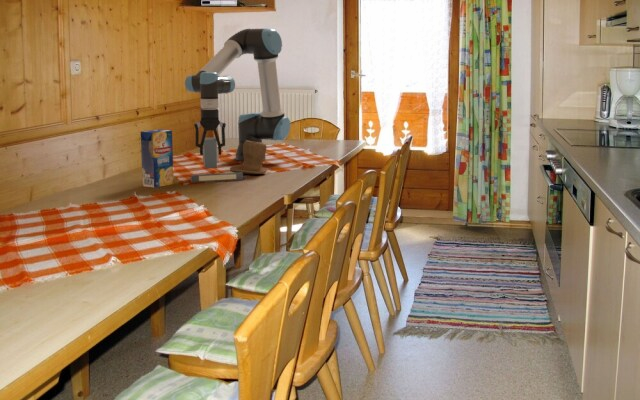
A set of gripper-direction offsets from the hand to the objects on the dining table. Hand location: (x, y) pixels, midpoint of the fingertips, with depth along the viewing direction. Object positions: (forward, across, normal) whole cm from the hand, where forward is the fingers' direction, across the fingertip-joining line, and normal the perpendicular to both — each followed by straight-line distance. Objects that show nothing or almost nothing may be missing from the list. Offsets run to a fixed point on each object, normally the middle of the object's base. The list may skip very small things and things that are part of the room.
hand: (210, 162), depth 336 cm
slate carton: (+2, 0, 0) cm, 2 cm away
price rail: (+6, +2, -11) cm, 13 cm away
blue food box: (+6, -22, -18) cm, 29 cm away
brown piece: (+7, +18, +6) cm, 20 cm away
